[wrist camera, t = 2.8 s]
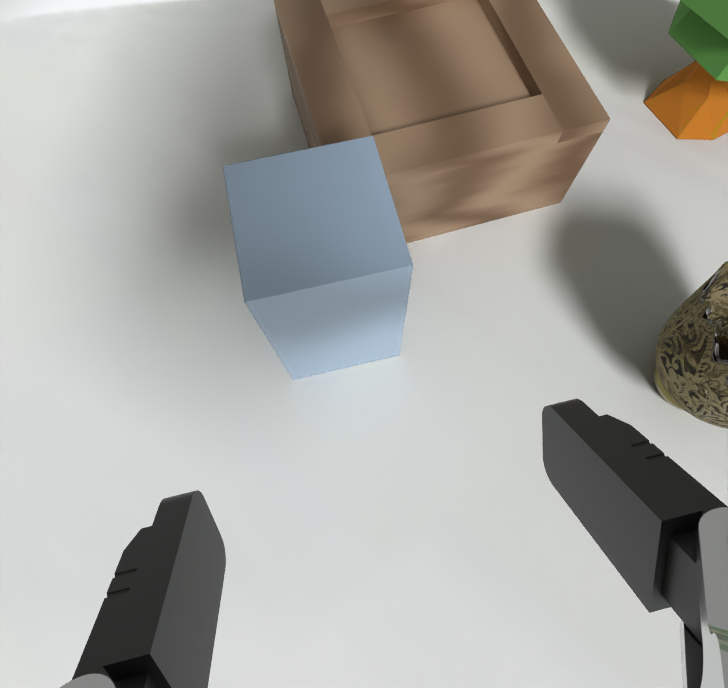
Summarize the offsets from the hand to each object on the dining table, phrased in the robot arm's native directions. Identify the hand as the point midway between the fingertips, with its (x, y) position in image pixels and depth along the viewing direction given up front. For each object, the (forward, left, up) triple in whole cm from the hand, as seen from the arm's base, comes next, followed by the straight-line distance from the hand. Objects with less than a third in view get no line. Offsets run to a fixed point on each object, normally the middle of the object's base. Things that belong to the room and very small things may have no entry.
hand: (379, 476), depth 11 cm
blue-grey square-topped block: (-3, -9, -13) cm, 17 cm away
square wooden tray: (-14, -17, -14) cm, 26 cm away
